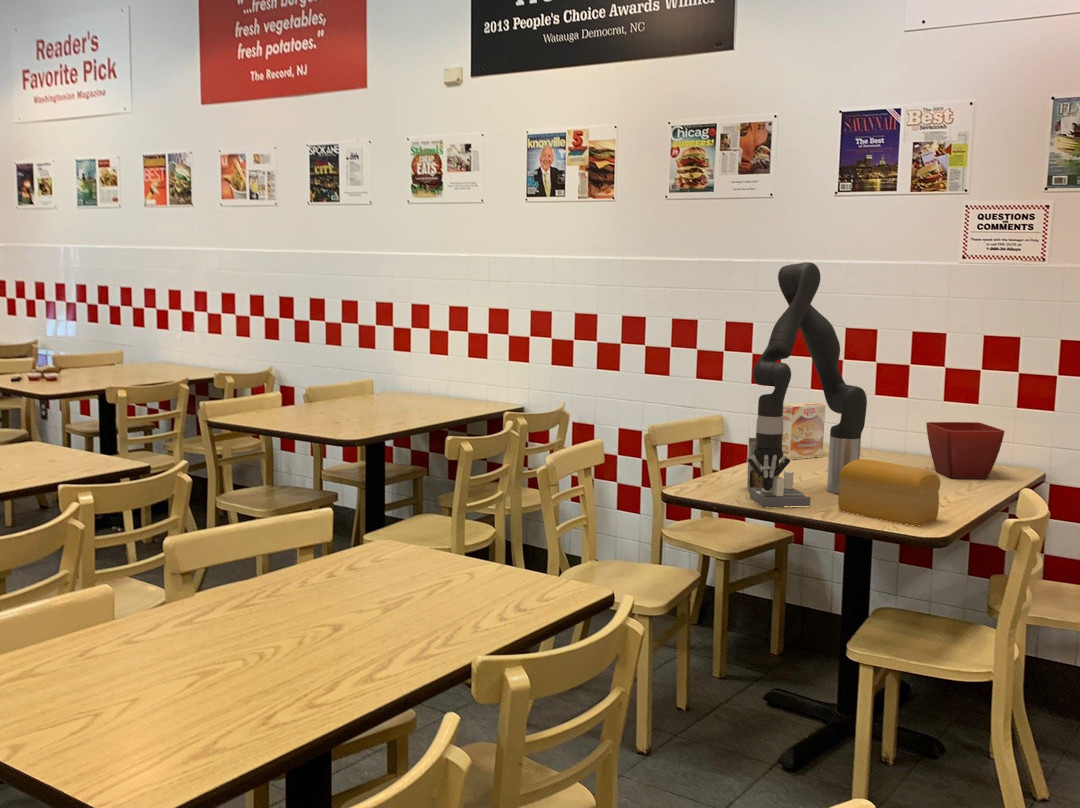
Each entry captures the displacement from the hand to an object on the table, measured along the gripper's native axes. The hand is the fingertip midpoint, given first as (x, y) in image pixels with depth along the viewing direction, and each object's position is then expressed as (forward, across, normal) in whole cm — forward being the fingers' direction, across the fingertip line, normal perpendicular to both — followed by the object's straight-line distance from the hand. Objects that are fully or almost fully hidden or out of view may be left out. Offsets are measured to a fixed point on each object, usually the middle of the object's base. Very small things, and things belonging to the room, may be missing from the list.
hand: (766, 489), depth 307 cm
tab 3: (+2, -10, -9) cm, 13 cm away
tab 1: (+2, -2, -4) cm, 5 cm away
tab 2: (+2, -4, 0) cm, 4 cm away
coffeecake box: (+5, -37, -74) cm, 83 cm away
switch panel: (+5, -6, -4) cm, 9 cm away
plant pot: (+5, -81, -42) cm, 92 cm away
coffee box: (+5, -5, -20) cm, 22 cm away
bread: (+5, -32, +12) cm, 34 cm away
